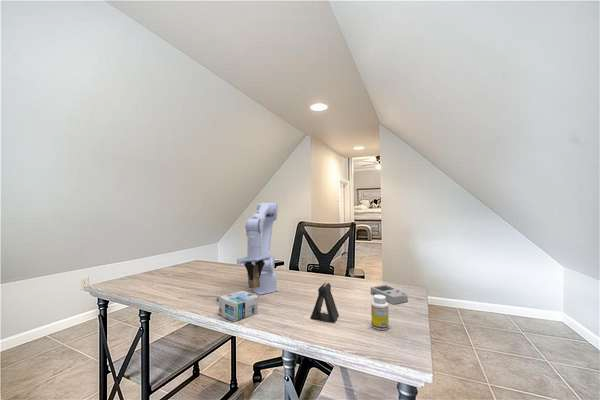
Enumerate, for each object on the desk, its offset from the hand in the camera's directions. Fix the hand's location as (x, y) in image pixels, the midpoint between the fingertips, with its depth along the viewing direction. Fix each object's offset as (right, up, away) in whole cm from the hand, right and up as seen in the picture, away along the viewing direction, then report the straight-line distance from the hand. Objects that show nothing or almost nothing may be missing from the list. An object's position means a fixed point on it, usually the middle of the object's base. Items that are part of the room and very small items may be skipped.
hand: (254, 279), depth 112 cm
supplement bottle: (+46, -10, -23) cm, 52 cm away
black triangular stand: (+28, -10, -15) cm, 34 cm away
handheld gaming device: (+59, -11, +6) cm, 60 cm away
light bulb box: (0, -7, -7) cm, 10 cm away
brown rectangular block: (0, -4, 0) cm, 3 cm away
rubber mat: (-10, -10, +3) cm, 14 cm away
